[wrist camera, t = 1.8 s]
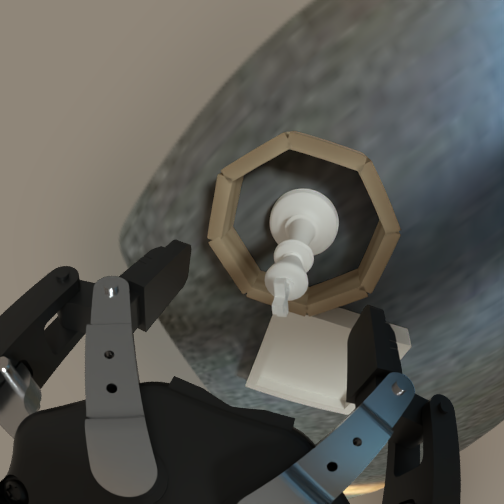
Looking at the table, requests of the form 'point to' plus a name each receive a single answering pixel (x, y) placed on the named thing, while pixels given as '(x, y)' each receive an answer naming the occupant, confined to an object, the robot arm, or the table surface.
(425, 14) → the table surface
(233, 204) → the holder ring
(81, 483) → the robot arm
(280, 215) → the chess piece
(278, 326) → the tray
